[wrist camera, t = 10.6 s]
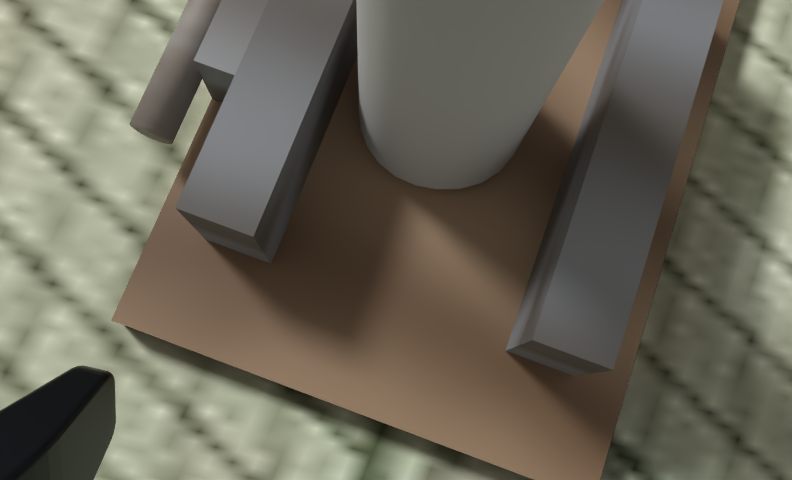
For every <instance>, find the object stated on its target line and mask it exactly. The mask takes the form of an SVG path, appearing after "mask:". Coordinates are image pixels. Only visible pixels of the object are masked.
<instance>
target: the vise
mask: <svg viewBox="0 0 792 480" xmlns="http://www.w3.org/2000/svg"><path fill="white" fill-rule="evenodd" d="M739 1H740V0H604V2H603V4H602V5H601V7H600V9H599V10H598V12H597V14H596V16H595V17H594V19H593V21H592V22H591V24H590V26H589V27H588V29H587V31H586V33H585V34H584V36H583V38H582V39H581V41H580V43H579V45H578V46H577V48H576V50H575V51H574V53H573V55H572V56H571V58H570V60H569V62H568V63H567V65H566V67H565V68H564V70H563V72H562V73H561V75H560V77H559V79H558V80H557V82H556V84H555V85H554V87H553V89H552V91H551V92H550V94H549V96H548V97H547V99H546V101H545V102H544V104H543V106H542V108H541V109H540V111H539V113H538V114H537V116H536V118H535V119H534V121H533V123H532V125H531V126H530V128H529V130H528V131H527V133H526V135H525V137H524V138H523V140H522V142H521V143H520V145H519V147H518V148H517V150H516V152H515V154H514V155H513V157H512V158H511V159H510V160H509V161H508V162H507V164H506V165H505V166H504V167H503V168H502V169H501V171H500V172H498V173H497V174H495V175H494V176H492V177H490V178H489V179H487V180H486V181H484V182H483V183H480V184H477V185H473V186H469V187H465V188H461V189H433V188H427V187H422V186H416V185H414V184H411V183H409V182H407V181H404V180H402V179H400V178H397V177H395V176H394V175H393V174H392V173H390V172H389V171H388V170H387V169H385V168H384V167H383V166H382V165H380V164H379V162H378V161H377V160H376V158H375V157H374V156H373V154H372V153H371V151H370V150H369V149H368V147H367V145H366V142H365V139H364V137H363V134H362V131H361V128H360V117H359V93H358V47H357V3H356V0H188V2H187V4H186V7H185V9H184V11H183V13H182V15H181V17H180V19H179V21H178V23H177V25H176V27H175V30H174V32H173V34H172V36H171V38H170V40H169V42H168V44H167V46H166V48H165V51H164V53H163V55H162V57H161V59H160V61H159V63H158V65H157V67H156V69H155V72H154V74H153V76H152V78H151V80H150V82H149V84H148V86H147V88H146V90H145V92H144V95H143V97H142V99H141V101H140V103H139V105H138V107H137V109H136V111H135V113H134V116H133V118H132V120H131V122H130V125H131V126H132V127H133V128H134V129H135V130H137V131H138V132H140V133H141V134H143V135H145V136H147V137H149V138H151V139H154V140H156V141H159V142H162V143H166V144H172V143H173V141H174V139H175V137H176V134H177V132H178V130H179V128H180V126H181V123H182V121H183V119H184V117H185V115H186V113H187V110H188V108H189V106H190V104H191V102H192V100H193V97H194V95H195V93H196V91H197V89H198V87H199V84H200V82H201V80H202V79H203V81H204V83H205V85H206V87H207V89H208V91H209V93H210V95H211V97H212V100H211V102H210V104H209V106H208V109H207V111H206V113H205V115H204V117H203V120H202V122H201V124H200V126H199V128H198V131H197V133H196V135H195V137H194V139H193V142H192V144H191V146H190V148H189V150H188V153H187V155H186V157H185V159H184V162H183V164H182V166H181V168H180V170H179V173H178V175H177V177H176V179H175V181H174V184H173V186H172V188H171V190H170V192H169V195H168V197H167V199H166V201H165V203H164V206H163V208H162V210H161V212H160V214H159V217H158V219H157V221H156V223H155V225H154V228H153V230H152V232H151V234H150V236H149V239H148V241H147V243H146V245H145V247H144V250H143V252H142V254H141V256H140V258H139V261H138V263H137V265H136V267H135V269H134V272H133V274H132V276H131V278H130V280H129V283H128V285H127V287H126V289H125V291H124V294H123V296H122V298H121V300H120V302H119V305H118V307H117V309H116V311H115V313H114V316H113V318H112V321H115V322H117V323H120V324H122V325H125V326H128V327H130V328H133V329H136V330H138V331H141V332H144V333H146V334H149V335H152V336H154V337H157V338H160V339H162V340H165V341H168V342H170V343H173V344H175V345H178V346H181V347H183V348H186V349H189V350H191V351H194V352H197V353H199V354H202V355H205V356H207V357H210V358H213V359H215V360H218V361H221V362H223V363H226V364H228V365H231V366H234V367H236V368H239V369H242V370H244V371H247V372H250V373H252V374H255V375H258V376H260V377H263V378H266V379H268V380H271V381H274V382H276V383H279V384H281V385H284V386H287V387H289V388H292V389H295V390H297V391H300V392H303V393H305V394H308V395H311V396H313V397H316V398H319V399H321V400H324V401H327V402H329V403H332V404H334V405H337V406H340V407H342V408H345V409H348V410H350V411H353V412H356V413H358V414H361V415H364V416H366V417H369V418H372V419H374V420H377V421H380V422H382V423H385V424H387V425H390V426H393V427H395V428H398V429H401V430H403V431H406V432H409V433H411V434H414V435H417V436H419V437H422V438H425V439H427V440H430V441H433V442H435V443H438V444H440V445H443V446H446V447H448V448H451V449H454V450H456V451H459V452H462V453H464V454H467V455H470V456H472V457H475V458H478V459H480V460H483V461H485V462H488V463H491V464H493V465H496V466H499V467H501V468H504V469H507V470H509V471H512V472H515V473H517V474H520V475H523V476H525V477H528V478H531V479H533V480H600V478H601V474H602V471H603V468H604V464H605V461H606V457H607V454H608V450H609V447H610V444H611V440H612V437H613V433H614V430H615V426H616V423H617V420H618V416H619V413H620V409H621V406H622V402H623V399H624V396H625V392H626V389H627V385H628V382H629V378H630V375H631V372H632V368H633V365H634V361H635V358H636V354H637V351H638V348H639V344H640V341H641V337H642V334H643V330H644V327H645V324H646V320H647V317H648V313H649V310H650V306H651V303H652V300H653V296H654V293H655V289H656V286H657V282H658V279H659V276H660V272H661V269H662V265H663V262H664V258H665V255H666V252H667V248H668V245H669V241H670V238H671V234H672V231H673V228H674V224H675V221H676V217H677V214H678V211H679V207H680V204H681V200H682V197H683V193H684V190H685V187H686V183H687V180H688V176H689V173H690V169H691V166H692V163H693V159H694V156H695V152H696V149H697V145H698V142H699V139H700V135H701V132H702V128H703V125H704V121H705V118H706V115H707V111H708V108H709V104H710V101H711V97H712V94H713V91H714V87H715V84H716V80H717V77H718V73H719V70H720V67H721V63H722V60H723V56H724V53H725V49H726V46H727V43H728V39H729V36H730V32H731V29H732V25H733V22H734V19H735V15H736V12H737V8H738V5H739Z"/></svg>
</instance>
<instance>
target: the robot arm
mask: <svg viewBox="0 0 792 480" xmlns="http://www.w3.org/2000/svg"><path fill="white" fill-rule="evenodd" d="M115 423H116V408H115V381H114V377H113V375H112V374H111V373H110V372H108V371H105V370H100V369H96V368H92V367H87V366H77V367H74V368H72V369H70V370H68V371H67V372H65V373H63V374H62V375H60V376H58V377H56V378H55V379H53V380H51V381H50V382H48V383H46V384H45V385H43V386H41V387H40V388H38V389H36V390H34V391H33V392H31V393H29V394H28V395H26V396H24V397H23V398H21V399H19V400H18V401H16V402H14V403H12V404H11V405H9V406H7V407H6V408H4V409H2V410H1V411H0V480H94V478H95V475H96V473H97V471H98V469H99V466H100V464H101V462H102V459H103V457H104V455H105V453H106V450H107V448H108V446H109V444H110V441H111V439H112V436H113V433H114V429H115Z"/></svg>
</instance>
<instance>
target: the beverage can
mask: <svg viewBox="0 0 792 480" xmlns="http://www.w3.org/2000/svg"><path fill="white" fill-rule="evenodd" d="M603 2H604V0H356V3H357V47H358V93H359V117H360V128H361V131H362V134H363V137H364V139H365V142H366V145H367V147H368V149H369V150H370V151H371V153H372V154H373V156H374V157H375V158H376V160H377V161H378V162H379V164H380V165H382V166H383V167H384V168H385V169H387V170H388V171H389V172H390V173H392V174H393V175H394V176H395V177H397V178H400V179H402V180H404V181H407V182H409V183H411V184H414V185H416V186H422V187H427V188H433V189H461V188H465V187H469V186H473V185H477V184H480V183H483V182H484V181H486V180H487V179H489V178H490V177H492V176H494V175H495V174H497V173H498V172H500V171H501V169H502V168H503V167H504V166H505V165H506V164H507V162H508V161H509V160H510V159H511V158H512V157H513V155H514V154H515V152H516V150H517V148H518V147H519V145H520V143H521V142H522V140H523V138H524V137H525V135H526V133H527V131H528V130H529V128H530V126H531V125H532V123H533V121H534V119H535V118H536V116H537V114H538V113H539V111H540V109H541V108H542V106H543V104H544V102H545V101H546V99H547V97H548V96H549V94H550V92H551V91H552V89H553V87H554V85H555V84H556V82H557V80H558V79H559V77H560V75H561V73H562V72H563V70H564V68H565V67H566V65H567V63H568V62H569V60H570V58H571V56H572V55H573V53H574V51H575V50H576V48H577V46H578V45H579V43H580V41H581V39H582V38H583V36H584V34H585V33H586V31H587V29H588V27H589V26H590V24H591V22H592V21H593V19H594V17H595V16H596V14H597V12H598V10H599V9H600V7H601V5H602V4H603Z"/></svg>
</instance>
